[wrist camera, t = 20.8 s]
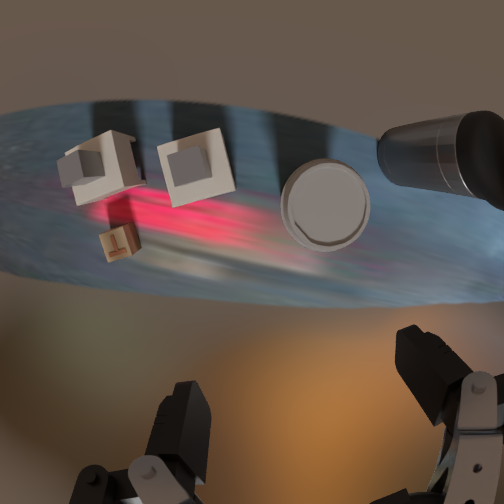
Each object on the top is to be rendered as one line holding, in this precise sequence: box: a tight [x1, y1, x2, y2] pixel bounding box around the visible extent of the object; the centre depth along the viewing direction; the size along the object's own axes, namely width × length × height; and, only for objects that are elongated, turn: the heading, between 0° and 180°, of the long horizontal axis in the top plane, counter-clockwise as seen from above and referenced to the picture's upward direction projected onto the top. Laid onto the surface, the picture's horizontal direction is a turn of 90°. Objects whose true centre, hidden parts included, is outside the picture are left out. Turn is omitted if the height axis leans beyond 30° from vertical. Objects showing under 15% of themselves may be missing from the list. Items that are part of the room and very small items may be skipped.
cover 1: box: [57, 130, 146, 206], centre depth 29 cm, size 7×7×13 cm
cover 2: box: [157, 128, 236, 208], centre depth 30 cm, size 7×7×13 cm
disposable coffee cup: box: [280, 158, 370, 252], centre depth 32 cm, size 10×10×12 cm
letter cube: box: [99, 222, 141, 262], centre depth 36 cm, size 4×4×4 cm
